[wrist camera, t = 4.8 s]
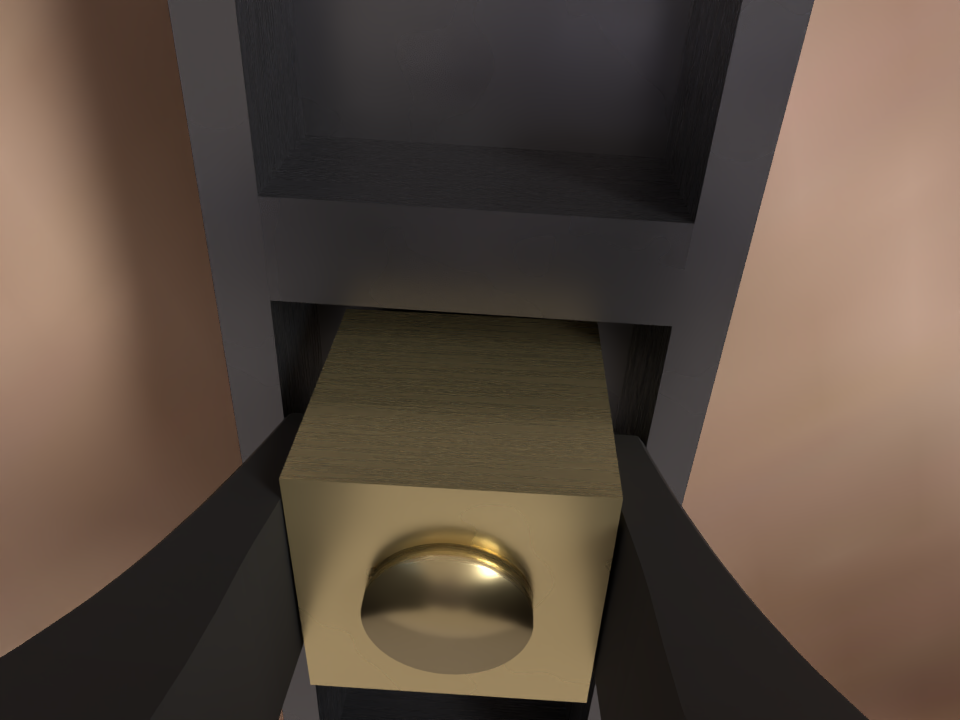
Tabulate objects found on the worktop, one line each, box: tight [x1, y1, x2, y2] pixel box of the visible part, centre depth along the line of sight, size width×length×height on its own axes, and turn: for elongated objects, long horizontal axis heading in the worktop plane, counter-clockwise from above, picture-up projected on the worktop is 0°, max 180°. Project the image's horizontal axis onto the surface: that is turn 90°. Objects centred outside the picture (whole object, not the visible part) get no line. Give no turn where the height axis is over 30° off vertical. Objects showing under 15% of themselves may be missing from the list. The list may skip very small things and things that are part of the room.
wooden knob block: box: [279, 309, 623, 703], centre depth 12 cm, size 4×4×4 cm
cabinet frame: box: [168, 0, 814, 720], centre depth 13 cm, size 7×22×3 cm, turn 177°
